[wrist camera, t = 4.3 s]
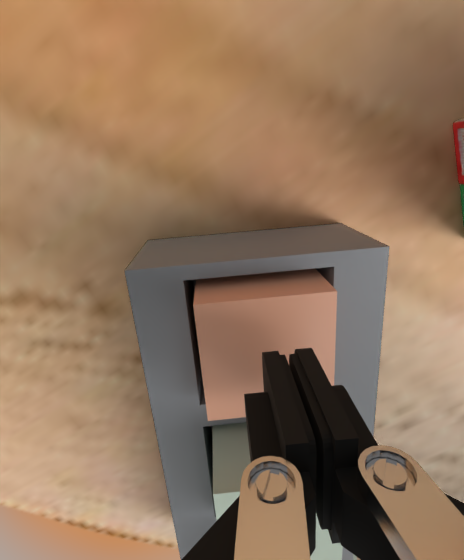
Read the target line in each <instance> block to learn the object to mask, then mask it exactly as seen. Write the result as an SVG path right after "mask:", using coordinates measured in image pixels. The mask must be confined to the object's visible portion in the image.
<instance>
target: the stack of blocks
mask: <svg viewBox="0 0 464 560" xmlns="http://www.w3.org/2000/svg"><path fill="white" fill-rule="evenodd" d="M453 131H454V141H455V151H456V162H457V172H458V181H459V184H460V192H461V203H462V214H463V225H464V118H463V119H460V120H457V121H455V122H454V123H453Z"/></svg>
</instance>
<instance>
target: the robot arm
mask: <svg viewBox="0 0 464 560" xmlns="http://www.w3.org/2000/svg"><path fill="white" fill-rule="evenodd" d="M262 367H263V385H264V392H259V393H248V394H244V400H245V413H246V424H247V434H248V443H249V452H250V461H251V463H250V464H249V465H248V466H247V467H246V468H245V470H244V471H243V474H242V478H241V486H240V496H239V497H238V498H237V499H236V500H235V501H234V502H233V503H232V504H231V506H230V507H229V508H228V509H227V510H226V511H225V512H224V513H223V514H222V515H221V517H220V518H219V519H218V520H217V521H216V522H215V523H214V524H213V525H212V527H211V528H210V529H209V530H208V531H207V532H206V533H205V534H204V535H203V536H202V538H201V539H200V540H199V541H198V542H197V543H196V544H195V545H194V546H193V547H192V549H191V550H190V551H189V552H188V553H187V554H186V555H185V556H184V557H183V559H182V560H310V556H311V555H312V553H313V551H314V550H315V548H316V514H317V518H318V521H319V525H320V527H321V529H322V530H324V529H328V531H329V535H330V538H331V541H332V544H334V543H340V544H341V546H343V547H344V548H345V549H347V550H348V551H350V552H351V553H352V554H353V559H354V560H464V503H462V502H460V501H458V500H456V499H454V498H452V497H451V496H449V495H447V494H445V493H443V492H442V491H441V489H440V488H439V487H438V486H437V485H436V484H435V482H434V481H433V480H432V479H431V478H430V477H429V476H428V474H427V473H426V472H425V471H424V470H423V469H422V467H421V466H420V465H419V464H418V463H417V462H416V461H415V460H414V459H413V458H412V457H411V456H409V455H408V454H406V453H405V452H403V451H401V450H399V449H396V448H393V447H390V446H383V445H379V446H378V444H377V443H376V441H375V439H374V437H373V436H372V434H371V432H370V430H369V429H368V427H367V425H366V423H365V422H364V420H363V418H362V416H361V415H360V413H359V411H358V409H357V408H356V406H355V404H354V403H353V401H352V399H351V397H350V396H349V394H348V392H347V390H346V389H345V387H344V386H343V385H334V386H332V385H331V384H330V382H329V380H328V378H327V376H326V374H325V372H324V370H323V368H322V366H321V364H320V362H319V360H318V359H317V357H316V355H315V353H314V351H313V349H312V348H303V349H295V352H294V354H289V364H288V361H287V358H286V356H285V354H284V355H280V354H279V351H270V352H262Z"/></svg>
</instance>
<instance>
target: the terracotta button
mask: <svg viewBox="0 0 464 560" xmlns="http://www.w3.org/2000/svg"><path fill="white" fill-rule="evenodd" d="M193 307H194V315H195V323H196V331H197V339H198V347H199V355H200V363H201V371H202V379H203V386H204V394H205V402H206V410H207V418H208V421H213V420H223V419H232V418H241V417H246V413H245V400H244V394H248V393H259V392H264V385H263V367H262V352H270V351H279V354H280V355H284V354H285V356H286V358H287V361H288V364H289V354H294V352H295V349H303V348H312V349H313V351H314V353H315V355H316V357H317V359H318V360H319V362H320V364H321V366H322V368H323V370H324V372H325V374H326V376H327V378H328V380H329V382H330V384H331V385H332V386H334V375H335V344H336V312H337V290H336V289H335V288H334V287H333V286H332V285H331V284H330V283H329V282H328V281H327V280H326V279H325V278H324V277H323V276H322V275H321V274H320V273H319V272H318V271H317V270H316V269H315V268H314V269H303V270H292V271H282V272H271V273H260V274H249V275H238V276H228V277H217V278H206V279H196V285H195V293H194V302H193Z"/></svg>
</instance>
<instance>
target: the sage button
mask: <svg viewBox="0 0 464 560" xmlns="http://www.w3.org/2000/svg"><path fill="white" fill-rule="evenodd" d="M212 431H213V498H214V505H215V513H216V521H217V520H218V519H219V518H220V517H221V515H222V514H223V513H224V512H225V511H226V510H227V509H228V508H229V507H230V506H231V504H232V503H233V502H234V501H235V500H236V499H237V498H238V497H239V496H240V486H241V478H242V474H243V471H244V470H245V468H246V467H247V466H248V465H249V464H250V463H251V461H250V452H249V443H248V434H247V424H246V422H242V423H233V424H224V425H214V426H212ZM342 550H343V546H341V544H340V543H334V544H332V541H331V538H330V535H329V531H328V529H324V530H322V529H321V527H320V525H319V521H318V518H317V514H316V548H315V550H314V551H313V553H312V555H311V556H310V560H342Z"/></svg>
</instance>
